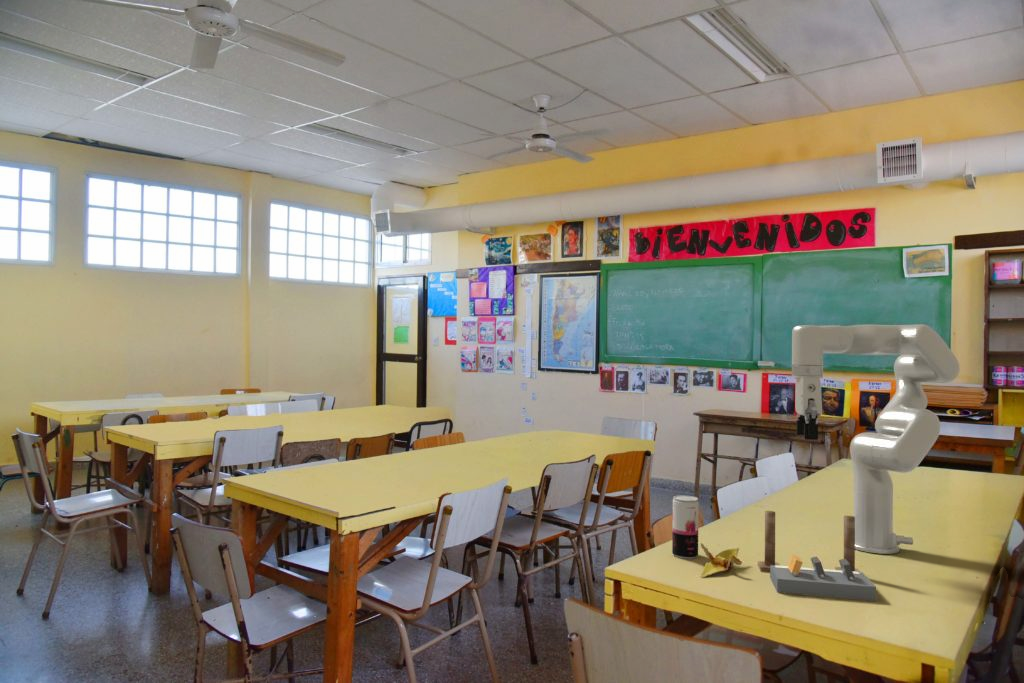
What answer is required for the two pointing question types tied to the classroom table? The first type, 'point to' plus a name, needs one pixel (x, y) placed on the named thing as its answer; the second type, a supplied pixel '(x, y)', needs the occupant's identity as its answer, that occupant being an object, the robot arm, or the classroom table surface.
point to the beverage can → (685, 527)
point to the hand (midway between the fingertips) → (806, 437)
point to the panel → (822, 583)
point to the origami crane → (720, 561)
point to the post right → (849, 542)
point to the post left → (769, 543)
